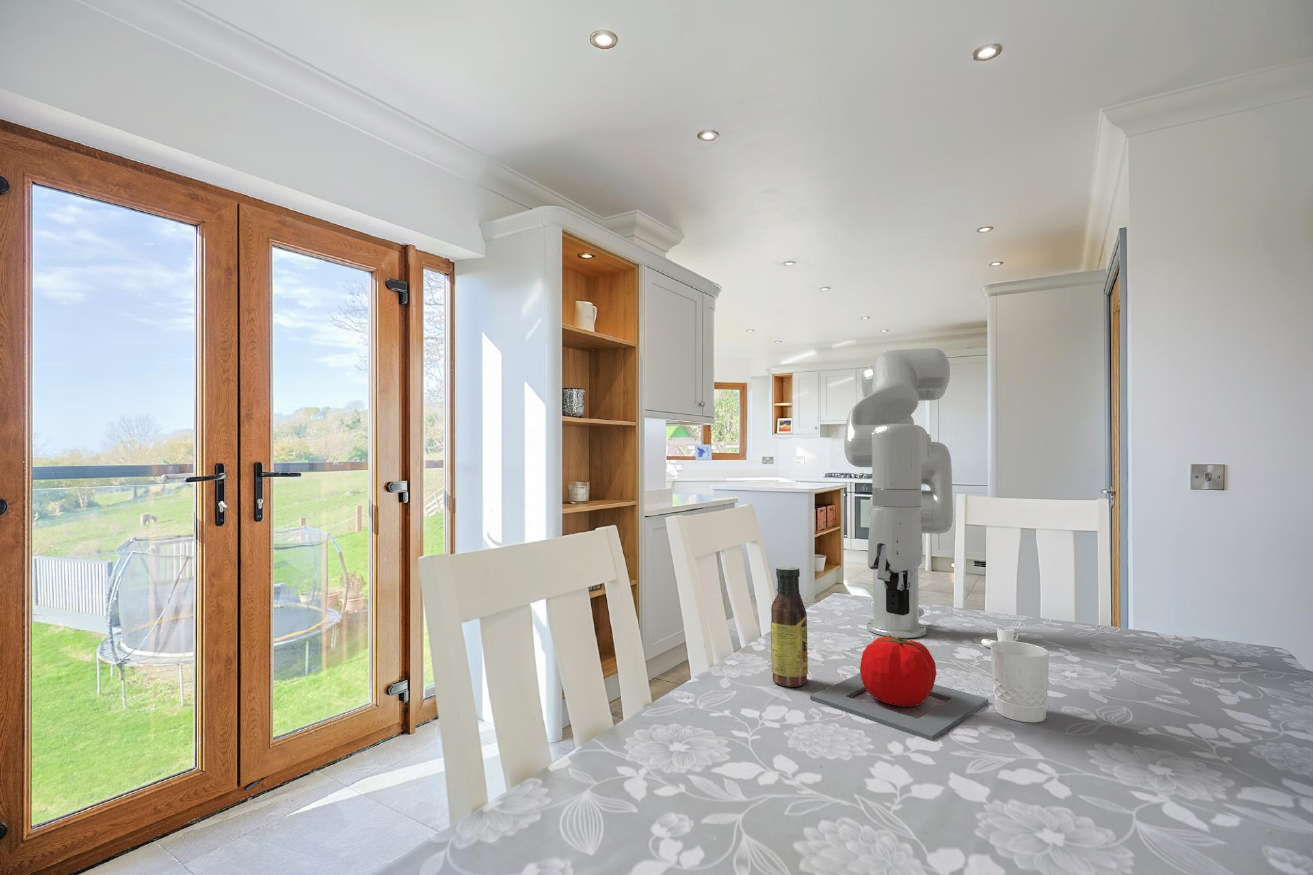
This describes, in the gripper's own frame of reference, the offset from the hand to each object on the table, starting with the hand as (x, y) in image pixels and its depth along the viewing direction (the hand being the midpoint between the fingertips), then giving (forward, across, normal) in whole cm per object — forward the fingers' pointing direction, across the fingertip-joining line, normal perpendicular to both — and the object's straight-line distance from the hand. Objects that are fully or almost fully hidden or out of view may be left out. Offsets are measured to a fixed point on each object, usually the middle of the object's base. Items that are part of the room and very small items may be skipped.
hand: (897, 613), depth 103 cm
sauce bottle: (+14, +6, -17) cm, 23 cm away
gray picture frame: (+14, 0, 0) cm, 14 cm away
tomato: (+14, 0, 0) cm, 14 cm away
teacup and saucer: (+15, -44, -2) cm, 46 cm away
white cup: (+14, -9, +15) cm, 23 cm away
